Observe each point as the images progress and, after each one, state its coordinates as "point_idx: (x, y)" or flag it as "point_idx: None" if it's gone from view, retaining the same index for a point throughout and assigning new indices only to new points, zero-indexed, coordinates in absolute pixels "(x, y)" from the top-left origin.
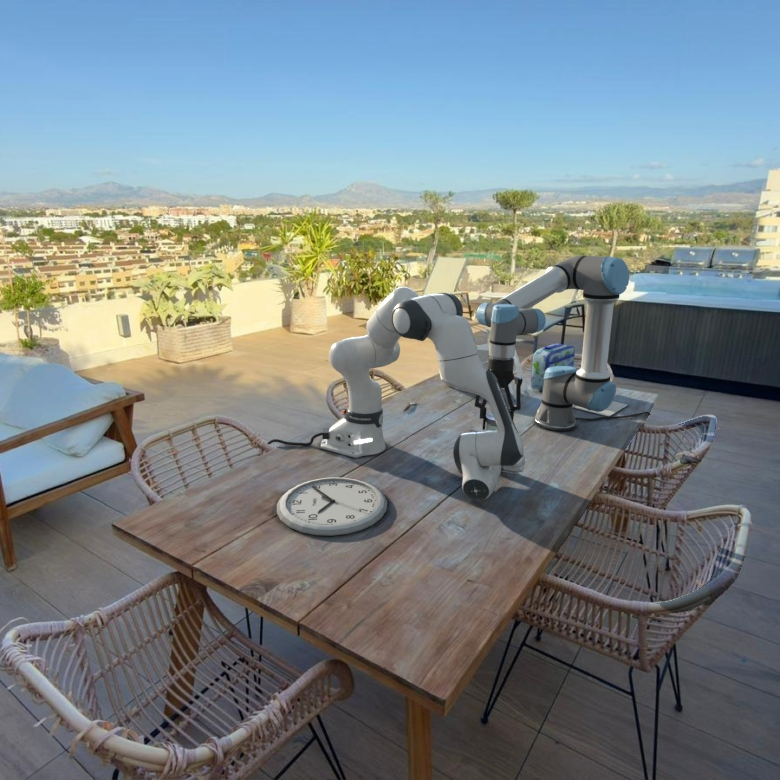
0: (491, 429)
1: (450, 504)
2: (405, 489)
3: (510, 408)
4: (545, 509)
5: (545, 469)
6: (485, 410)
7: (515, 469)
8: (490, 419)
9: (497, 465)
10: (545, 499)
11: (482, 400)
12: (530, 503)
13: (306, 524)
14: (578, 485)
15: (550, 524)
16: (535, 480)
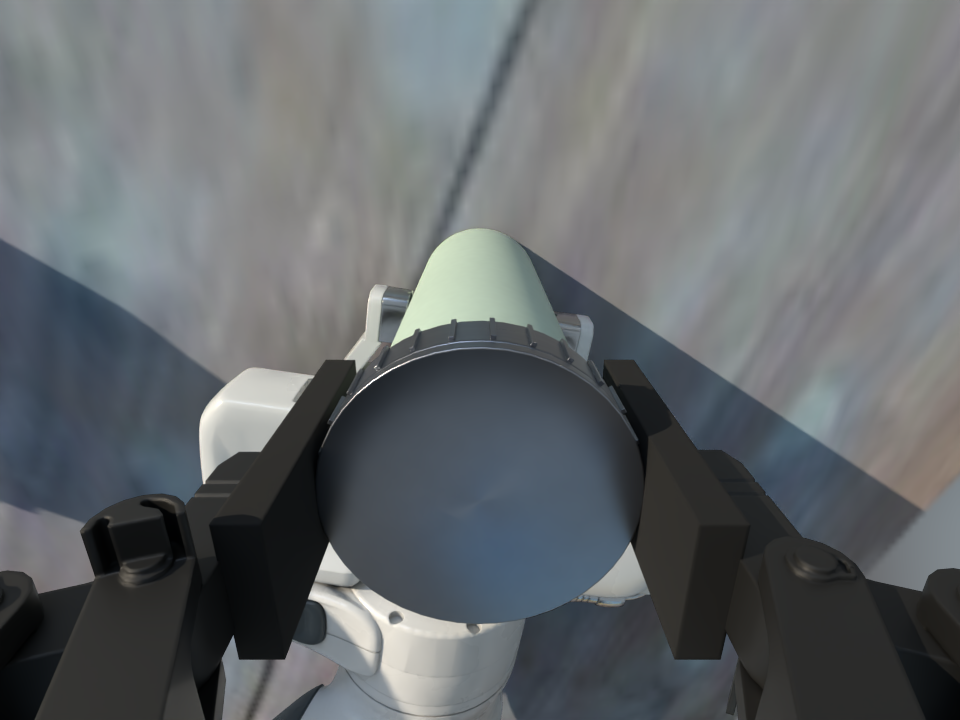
0: None
1: (315, 660)
2: None
3: (751, 716)
4: None
5: (831, 217)
6: (270, 654)
7: (612, 606)
8: (397, 603)
9: (502, 688)
10: None
11: (58, 669)
12: (649, 595)
13: None
14: (956, 390)
15: (697, 705)
16: (724, 383)
